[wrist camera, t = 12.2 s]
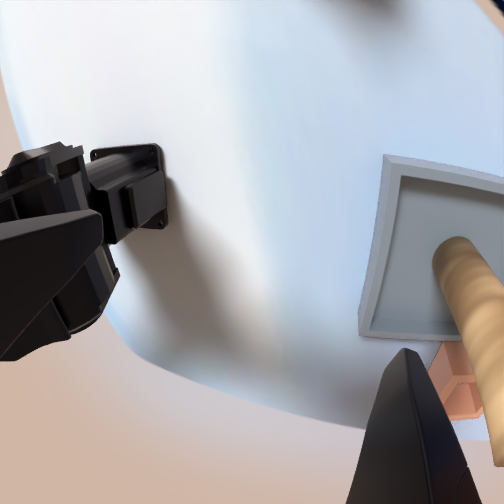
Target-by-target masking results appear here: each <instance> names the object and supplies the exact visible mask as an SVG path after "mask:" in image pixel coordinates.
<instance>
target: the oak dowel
mask: <svg viewBox="0 0 504 504" xmlns="http://www.w3.org/2000/svg"><path fill="white" fill-rule="evenodd" d="M432 269H433V272H434V274H435V276H436V278H437V280H438V283H439V285H440V287H441V289H442V292H443V294H444V296H445V298H446V301H447V303H448V306H449V308H450V310H451V313H452V315H453V318H454V320H455V323H456V325H457V328H458V331H459V333H460V336H461V339H462V342H463V344H464V347H465V350H466V353H467V356H468V359H469V362H470V365H471V368H472V371H473V375H474V378H475V381H476V385H477V388H478V392H479V395H480V399H481V403H482V407H483V411H484V415H485V419H486V424H487V428H488V433H489V438H490V443H491V448H492V454H493V461H494V465H495V466H496V467H504V286H503V285H502V283H501V282H500V280H499V279H498V277H497V276H496V275H495V273H494V272H493V270H492V269H491V267H490V266H489V265H488V263H487V262H486V261H485V259H484V258H483V257H482V255H481V254H480V253H479V251H478V250H477V249H476V247H475V246H474V245H473V243H472V242H471V241H470V240H469V239H467V238H465V237H461V236H455V237H451V238H449V239H447V240H445V241H444V242H442V243H441V244H440V245H439V247H438V248H437V249H436V251H435V253H434V255H433V259H432Z"/></svg>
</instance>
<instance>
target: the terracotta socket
mask: <svg viewBox="0 0 504 504" xmlns="http://www.w3.org/2000/svg"><path fill="white" fill-rule="evenodd" d="M428 374H429V376H430V378H431V380H432V383H433V385H434V387H435V389H436V391H437V393H438V395H439V397H440V400H441V402H442V404H443V406H444V408H445V411H446V413H447V415H448V417H449V420H450V421H454V420H465V419H475V418H479V417H480V416H481V415H482V414H483V413H484V411H483V407H482V403H481V399H480V395H479V392H478V388H477V385H476V381H475V378H474V375H473V371H472V368H471V365H470V362H469V359H468V356H467V353H466V350H465V347H464V344H463V342H453V341H443V342H442V344H441V346H440V348H439V350H438V352H437V354H436V356H435V358H434V360H433V362H432V364H431V366H430V368H429V370H428ZM457 383H465V384H457Z"/></svg>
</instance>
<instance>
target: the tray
mask: <svg viewBox="0 0 504 504" xmlns="http://www.w3.org/2000/svg"><path fill="white" fill-rule="evenodd" d="M455 236H461V237H465V238H467V239H469V240H470V241H471V242H472V243H473V245H474V246H475V247H476V249H477V250H478V251H479V253H480V254H481V255H482V257H483V258H484V259H485V261H486V262H487V263H488V265H489V266H490V267H491V269H492V270H493V272H494V273H495V275H496V276H497V277H498V279H499V280H500V282H501V283H502V285H503V286H504V178H503V177H499V176H495V175H492V174H487V173H483V172H479V171H475V170H470V169H466V168H461V167H456V166H452V165H447V164H441V163H436V162H431V161H425V160H419V159H413V158H407V157H400V156H393V155H386V154H384V156H383V166H382V176H381V185H380V193H379V201H378V208H377V215H376V222H375V228H374V234H373V240H372V246H371V252H370V257H369V263H368V268H367V273H366V278H365V283H364V287H363V292H362V297H361V301H360V305H359V310H358V323H359V336H369V337H381V338H396V339H412V340H433V341H462V339H461V336H460V333H459V331H458V328H457V325H456V323H455V320H454V318H453V315H452V313H451V310H450V308H449V306H448V303H447V301H446V298H445V296H444V294H443V292H442V289H441V287H440V285H439V283H438V280H437V278H436V276H435V274H434V272H433V269H432V259H433V255H434V253H435V251H436V249H437V248H438V247H439V245H440V244H441V243H442V242H444V241H445V240H447V239H449V238H451V237H455Z"/></svg>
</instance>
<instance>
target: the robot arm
mask: <svg viewBox="0 0 504 504" xmlns="http://www.w3.org/2000/svg"><path fill="white" fill-rule="evenodd" d="M151 148H153V149H154V153H152V151H151ZM95 153H96V154H97V157H96V155H95ZM83 154H84V151H83V147H82V145H81V146H78V147H75V148H73V146H72V145H70V146H64V145H63V144H62V143H61V142H57V143H54V144H50V145H47V146H44V147H41V148H37V149H32V150H27V151H23V152H20V153H18V154H15V155H14V156H13V158H12V160H11V162H10V164H9V166H8V168H7V169H6V170H4V171H2V172H1V173H2V176H0V361H17V360H19V359H20V358H22V357H24V356H25V355H27V354H29V353H30V352H32V351H34V350H36V349H38V348H40V347H42V346H45V345H48V344H51V343H54V342H59V341H65V340H69V339H70V338H71V335H72V334H76V333H78V332H80V331H82V330H85V329H86V328H88V327H89V326H91V325H92V324H93V323H94V322H96V321H97V319H98V318H99V317H100V316H101V314H102V313H103V311H104V309H105V306H106V304H107V302H108V300H109V298H110V296H111V294H112V292H113V290H114V288H115V286H116V283H117V281H118V279H119V277H120V273H119V270H118V268H116V267H115V264H114V261H113V258H112V255H111V252H110V249H109V246H110V245H111V244H117V243H118V242H119V241H120V240H122V239H123V238H124V237H126V236H127V235H128V234H129V233H131V232H132V231H133V230H135V229H138V228H148V229H160V230H161V229H164V228H165V227H166V226H167V225H168V218H167V210H166V206H167V199H166V190H165V181H164V173H163V172H162V165H161V154H160V147H159V146H158V145H157V144H156V143H149V144H136V145H124V146H114V147H105V148H97V149H94V150H92V151H91V153H90V159H91V162H90V163H87V164H85V163H84V159H83ZM159 220H160V221H162V223H163V224H161V223H160V221H159ZM346 504H482V502H481V500H480V497H479V495H478V492H477V489H476V486H475V483H474V481H473V478H472V475H471V472H470V469H469V468H468V467H467V462H466V459H465V457H464V454H463V451H462V449H461V446H460V444H459V441H458V439H457V436H456V434H455V431H454V429H453V427H452V424H451V422H450V420H449V417H448V415H447V413H446V411H445V408H444V406H443V404H442V402H441V400H440V397H439V395H438V393H437V391H436V389H435V387H434V385H433V383H432V380H431V378H430V376H429V374H428V372H427V370H426V368H425V366H424V364H423V362H422V360H421V358H420V356H419V355H418V353H417V352H415V351H413V350H410V349H408V348H402V349H401V350H400V351H399V352H398V353H397V355H396V356H395V357H394V358H393V360H392V361H391V362H390V363H389V364H388V366H387V367H386V368H385V370H384V372H383V375H382V379H381V382H380V386H379V389H378V392H377V396H376V399H375V402H374V405H373V409H372V412H371V415H370V418H369V421H368V424H367V428H366V432H365V436H364V441H363V445H362V449H361V453H360V457H359V461H358V464H357V468H356V471H355V475H354V478H353V482H352V485H351V488H350V492H349V495H348V498H347V501H346Z"/></svg>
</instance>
